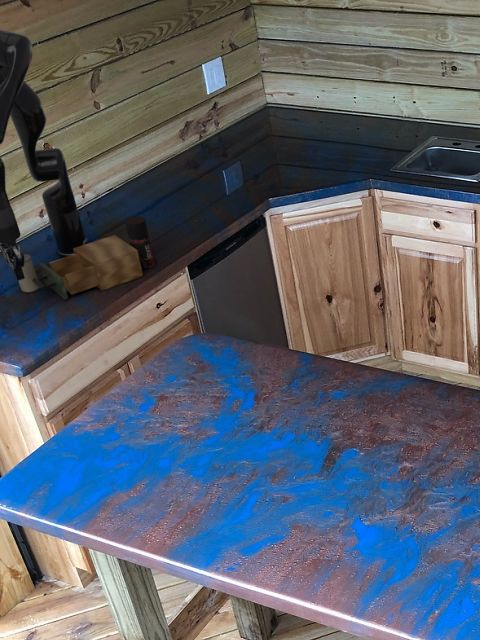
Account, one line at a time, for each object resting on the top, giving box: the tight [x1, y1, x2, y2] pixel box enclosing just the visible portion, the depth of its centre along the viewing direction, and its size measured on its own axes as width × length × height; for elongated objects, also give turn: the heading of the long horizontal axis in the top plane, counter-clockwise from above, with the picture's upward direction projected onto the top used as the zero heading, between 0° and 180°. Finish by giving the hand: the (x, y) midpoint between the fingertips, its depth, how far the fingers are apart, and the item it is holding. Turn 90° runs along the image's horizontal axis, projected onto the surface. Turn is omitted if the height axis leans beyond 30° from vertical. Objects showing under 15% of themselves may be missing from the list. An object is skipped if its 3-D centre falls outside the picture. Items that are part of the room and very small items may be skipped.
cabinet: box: [73, 234, 144, 291], centre depth 281 cm, size 14×15×9 cm
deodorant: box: [124, 216, 156, 270], centre depth 284 cm, size 6×6×15 cm
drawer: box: [32, 253, 99, 300], centre depth 273 cm, size 17×14×7 cm
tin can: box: [18, 253, 41, 294], centre depth 274 cm, size 6×6×10 cm
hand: (20, 278), depth 262 cm, fingers closed
